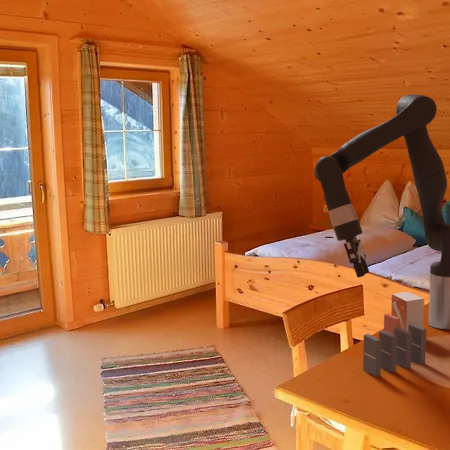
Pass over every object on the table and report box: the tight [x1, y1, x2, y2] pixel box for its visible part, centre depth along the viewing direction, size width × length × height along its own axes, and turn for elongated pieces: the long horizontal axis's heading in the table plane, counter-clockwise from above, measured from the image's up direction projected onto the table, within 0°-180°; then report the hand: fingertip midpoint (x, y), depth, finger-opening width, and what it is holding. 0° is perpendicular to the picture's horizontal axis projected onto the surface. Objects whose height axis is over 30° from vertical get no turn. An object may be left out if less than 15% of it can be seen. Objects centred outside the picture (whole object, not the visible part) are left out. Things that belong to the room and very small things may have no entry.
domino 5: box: [408, 324, 427, 365], centre depth 159 cm, size 2×5×10 cm, turn 25°
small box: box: [390, 291, 425, 331], centre depth 177 cm, size 8×6×13 cm
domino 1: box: [362, 333, 382, 378], centre depth 152 cm, size 2×5×10 cm, turn 25°
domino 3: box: [378, 329, 397, 373], centre depth 155 cm, size 2×5×10 cm, turn 25°
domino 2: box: [383, 313, 400, 335], centre depth 168 cm, size 2×5×10 cm, turn 25°
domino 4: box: [394, 327, 412, 370], centre depth 157 cm, size 2×5×10 cm, turn 25°
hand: (363, 275), depth 166 cm, fingers open, 8 cm apart
